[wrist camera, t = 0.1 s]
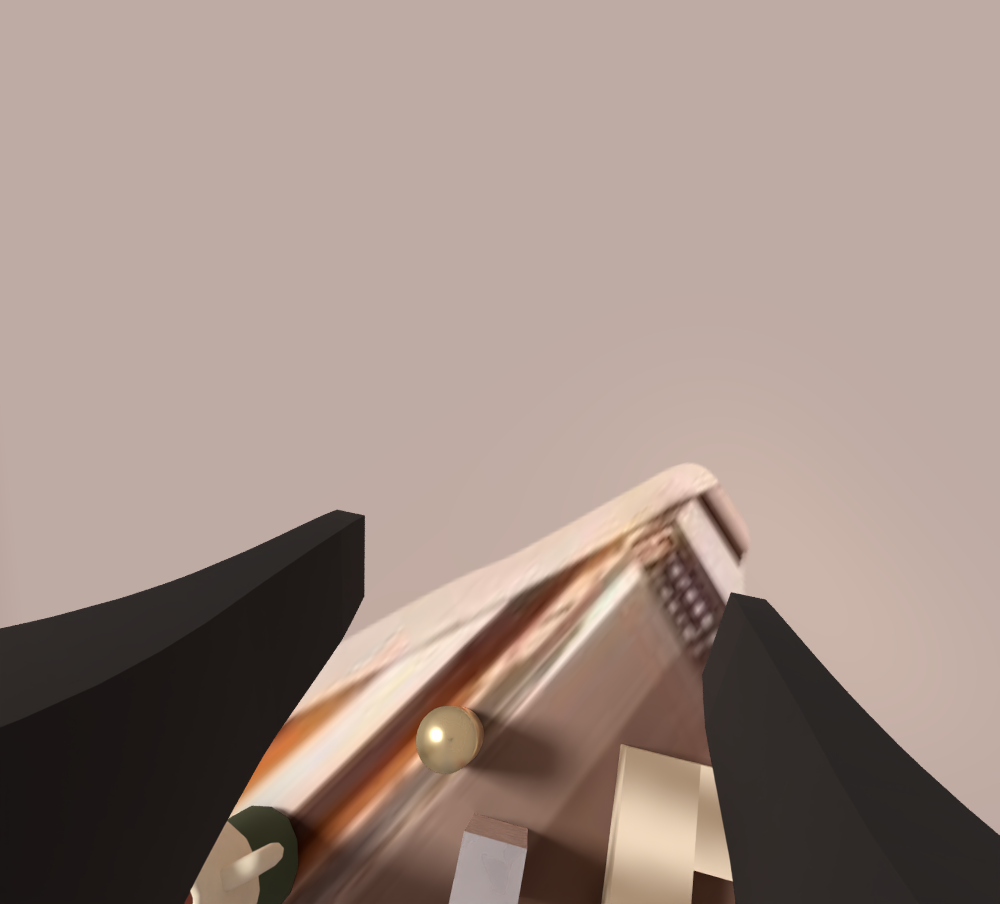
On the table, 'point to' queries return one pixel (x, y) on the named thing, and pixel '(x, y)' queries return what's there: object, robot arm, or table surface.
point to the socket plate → (662, 830)
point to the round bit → (449, 738)
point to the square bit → (490, 862)
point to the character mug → (249, 861)
